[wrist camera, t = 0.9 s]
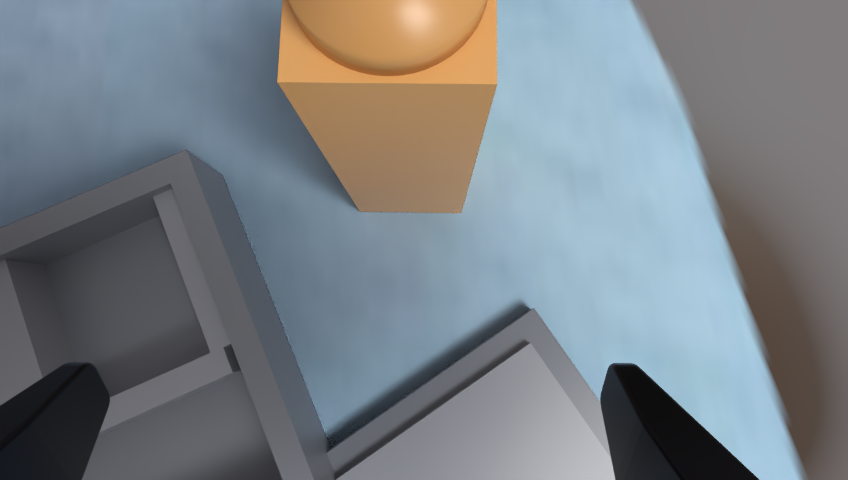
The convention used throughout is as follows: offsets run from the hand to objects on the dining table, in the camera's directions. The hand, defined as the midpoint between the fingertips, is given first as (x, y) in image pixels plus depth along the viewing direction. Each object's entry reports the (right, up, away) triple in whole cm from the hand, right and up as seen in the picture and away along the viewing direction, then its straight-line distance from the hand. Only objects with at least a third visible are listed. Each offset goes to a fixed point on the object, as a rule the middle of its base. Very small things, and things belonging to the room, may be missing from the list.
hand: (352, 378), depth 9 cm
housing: (-13, -5, +13) cm, 19 cm away
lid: (+4, -8, +12) cm, 15 cm away
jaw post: (+1, +6, +14) cm, 15 cm away
